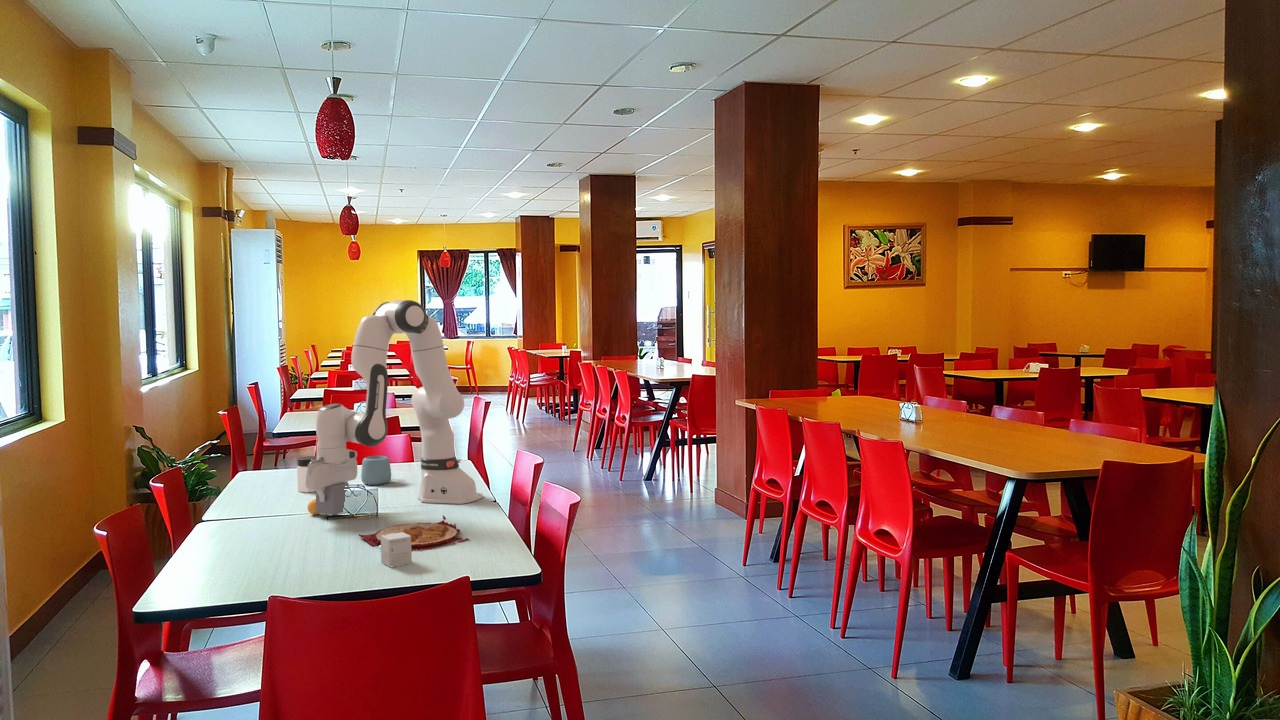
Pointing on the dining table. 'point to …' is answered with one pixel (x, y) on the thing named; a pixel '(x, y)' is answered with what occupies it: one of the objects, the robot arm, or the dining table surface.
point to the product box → (396, 549)
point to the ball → (312, 507)
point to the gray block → (332, 499)
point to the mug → (376, 470)
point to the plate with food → (420, 534)
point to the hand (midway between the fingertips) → (332, 498)
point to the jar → (303, 472)
